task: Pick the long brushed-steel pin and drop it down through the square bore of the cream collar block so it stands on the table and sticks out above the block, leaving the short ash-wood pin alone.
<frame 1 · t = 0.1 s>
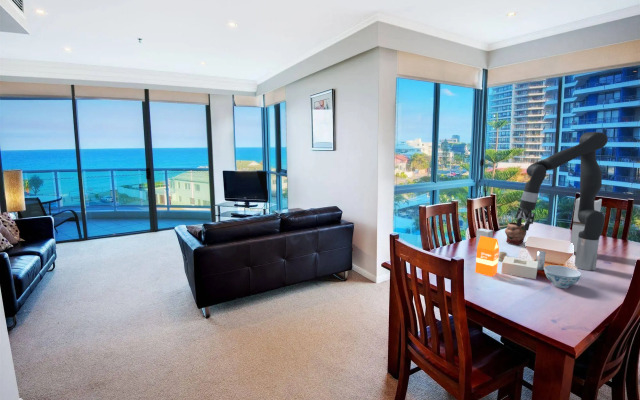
hand: (521, 228, 193), 22 cm above the table, tool pointing down, fingers open, 8 cm apart
decorative planter: (515, 243, 239), on the table
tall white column: (581, 254, 216), on the table
short pin: (502, 260, 205), on the table
skincare box: (483, 252, 221), on the table
hole block: (519, 272, 187), on the table
long pin: (539, 268, 192), on the table
chinaware: (560, 285, 171), on the table
orange juice: (486, 272, 188), on the table
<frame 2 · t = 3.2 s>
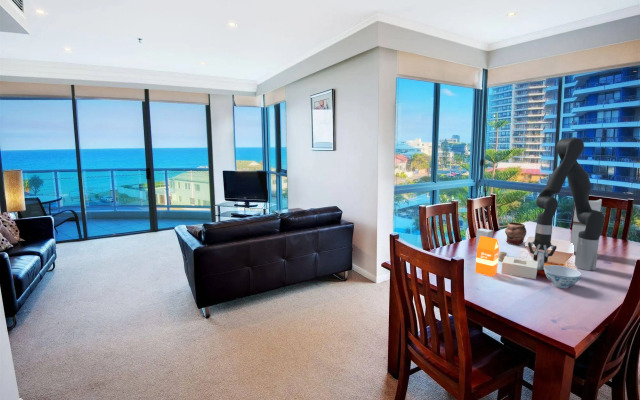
hand: (540, 261, 191), 4 cm above the table, tool pointing down, fingers closed on long pin, 4 cm apart
long pin: (539, 268, 192), on the table, touching gripper
everything else where it was.
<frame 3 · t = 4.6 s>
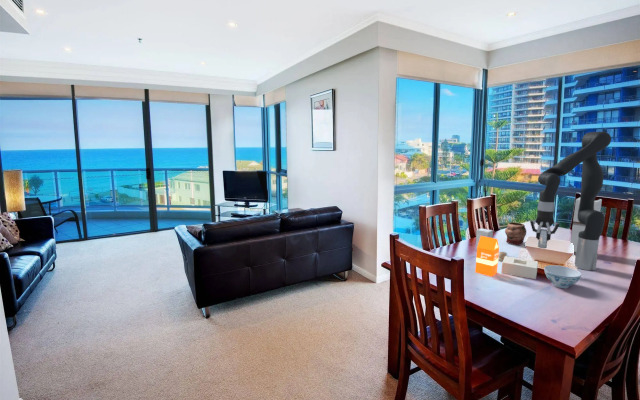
hand: (542, 239, 189), 17 cm above the table, tool pointing down, fingers closed on long pin, 4 cm apart
long pin: (542, 247, 190), point 13 cm above the table, touching gripper
everything else where it was.
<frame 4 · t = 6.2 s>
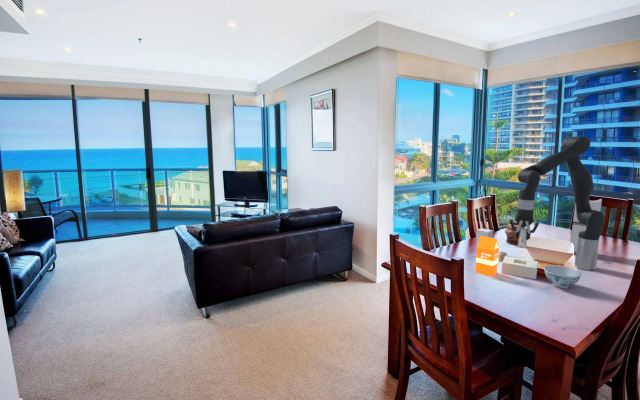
hand: (522, 238, 184), 19 cm above the table, tool pointing down, fingers closed on long pin, 4 cm apart
long pin: (521, 246, 185), point 15 cm above the table, touching gripper
everything else where it was.
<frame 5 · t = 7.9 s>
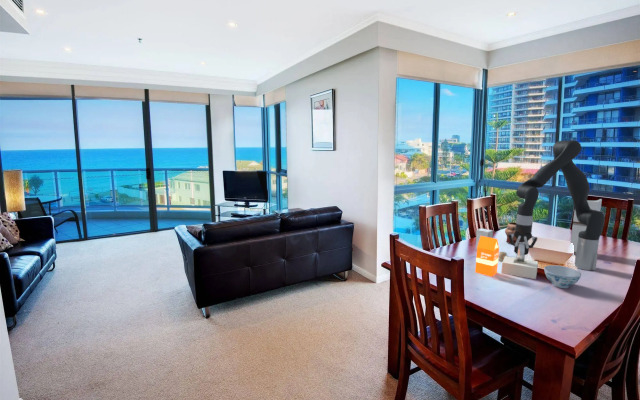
hand: (520, 253, 185), 11 cm above the table, tool pointing down, fingers closed on long pin, 4 cm apart
long pin: (520, 261, 186), point 6 cm above the table, touching gripper
everything else where it was.
when the fingers open (7 cm above the table, at t = 9.2 s): long pin drops 3 cm, resting in hole block.
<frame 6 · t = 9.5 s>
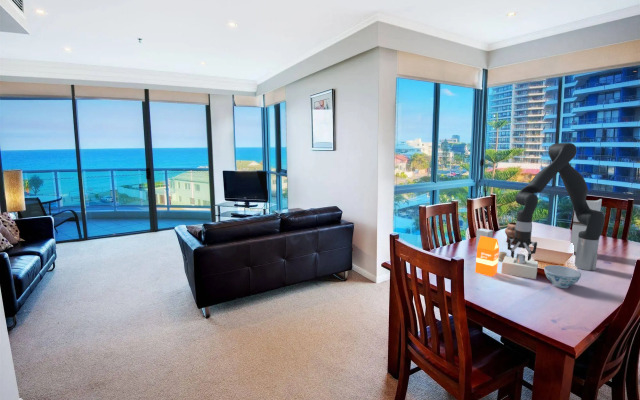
hand: (520, 258, 186), 8 cm above the table, tool pointing down, fingers open, 6 cm apart
long pin: (519, 272, 187), resting in hole block
everything else where it was.
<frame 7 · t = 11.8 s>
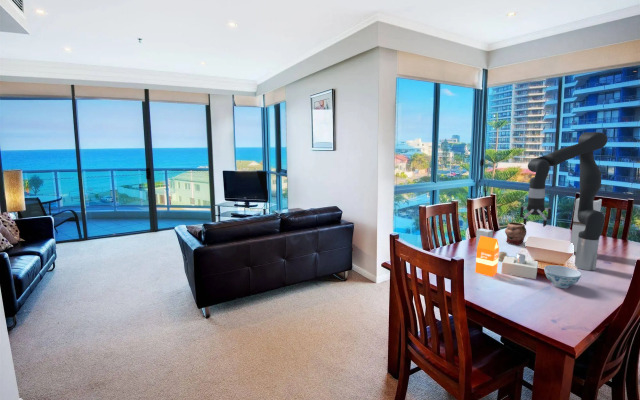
hand: (534, 225, 187), 25 cm above the table, tool pointing down, fingers open, 8 cm apart
nothing on the table moved.
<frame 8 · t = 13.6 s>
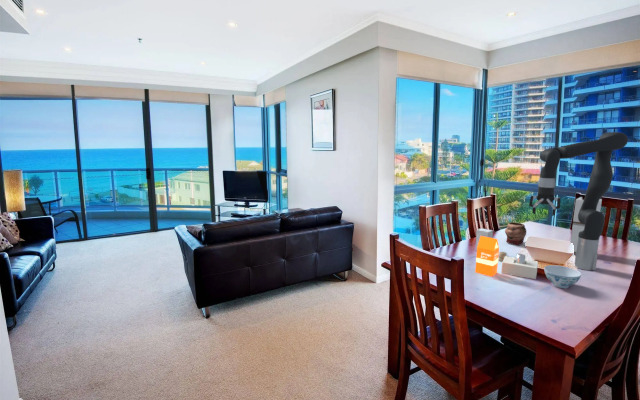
hand: (543, 214, 191), 30 cm above the table, tool pointing down, fingers open, 8 cm apart
nothing on the table moved.
at the end: long pin 0.1 cm from the hole block (horizontally); long pin resting in hole block; long pin tilted 0° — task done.
